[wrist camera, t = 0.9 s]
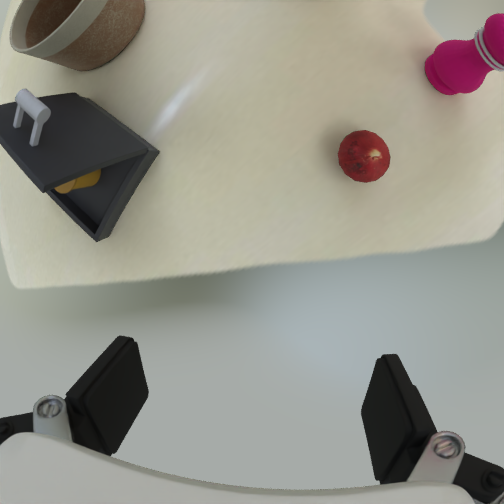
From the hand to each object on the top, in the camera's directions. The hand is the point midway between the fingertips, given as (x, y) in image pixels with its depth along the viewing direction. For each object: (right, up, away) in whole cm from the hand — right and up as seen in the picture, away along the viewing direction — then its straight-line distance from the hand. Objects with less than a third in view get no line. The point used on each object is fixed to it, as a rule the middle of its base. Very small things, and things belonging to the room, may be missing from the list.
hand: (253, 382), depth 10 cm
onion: (+13, +16, +23) cm, 31 cm away
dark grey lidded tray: (-22, +17, +26) cm, 39 cm away
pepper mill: (+26, +29, +17) cm, 43 cm away
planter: (-23, +40, +20) cm, 50 cm away
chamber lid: (-21, +18, +14) cm, 31 cm away
